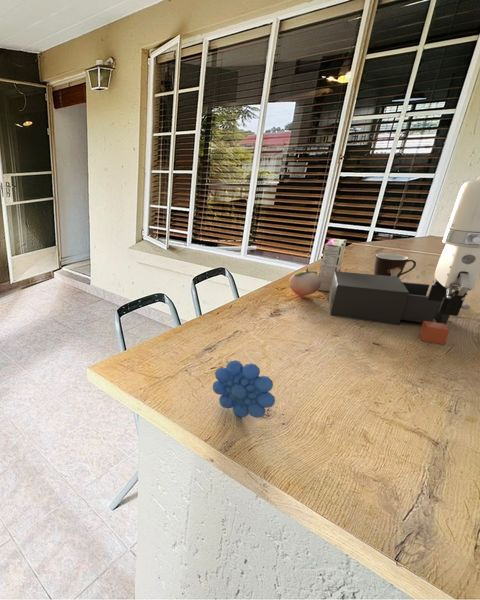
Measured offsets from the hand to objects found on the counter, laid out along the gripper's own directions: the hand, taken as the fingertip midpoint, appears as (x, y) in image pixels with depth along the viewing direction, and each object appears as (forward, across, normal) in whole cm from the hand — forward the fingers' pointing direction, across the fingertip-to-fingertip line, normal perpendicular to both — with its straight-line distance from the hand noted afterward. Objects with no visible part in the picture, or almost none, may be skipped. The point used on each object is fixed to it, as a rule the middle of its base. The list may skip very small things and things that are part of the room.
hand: (441, 307), depth 85 cm
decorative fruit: (+9, +20, +28) cm, 35 cm away
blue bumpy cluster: (+10, -51, +37) cm, 63 cm away
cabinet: (+9, +14, +13) cm, 21 cm away
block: (+9, 0, 0) cm, 9 cm away
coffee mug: (+9, +45, +2) cm, 46 cm away
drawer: (+8, +14, +1) cm, 16 cm away
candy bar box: (+9, +34, +21) cm, 41 cm away
